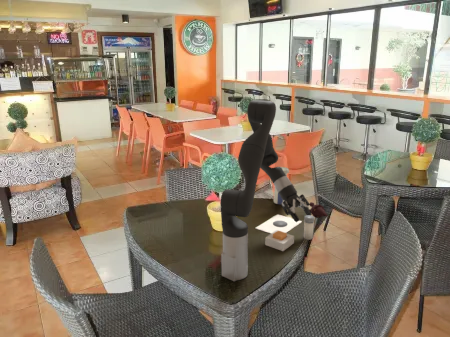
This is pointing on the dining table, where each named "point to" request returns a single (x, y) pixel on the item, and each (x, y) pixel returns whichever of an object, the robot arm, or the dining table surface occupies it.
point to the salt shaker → (308, 227)
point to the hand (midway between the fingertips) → (304, 218)
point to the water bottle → (276, 195)
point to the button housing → (279, 242)
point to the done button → (280, 235)
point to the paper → (278, 224)
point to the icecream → (317, 210)
